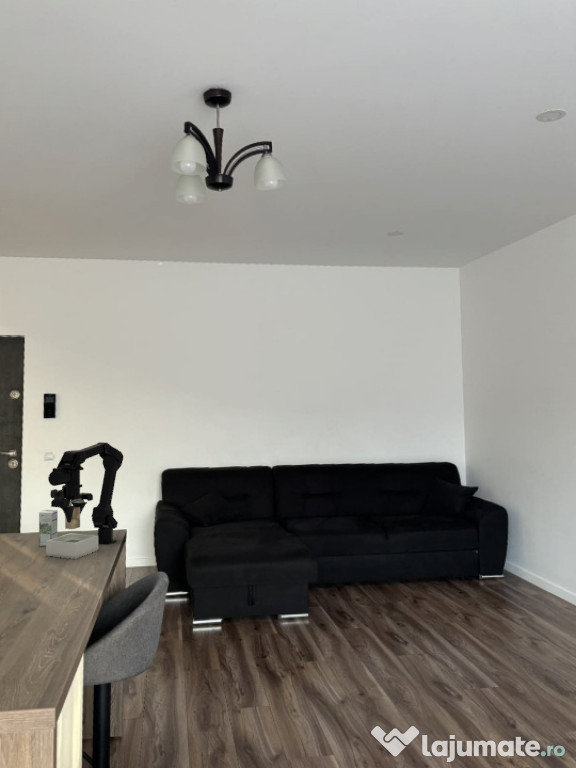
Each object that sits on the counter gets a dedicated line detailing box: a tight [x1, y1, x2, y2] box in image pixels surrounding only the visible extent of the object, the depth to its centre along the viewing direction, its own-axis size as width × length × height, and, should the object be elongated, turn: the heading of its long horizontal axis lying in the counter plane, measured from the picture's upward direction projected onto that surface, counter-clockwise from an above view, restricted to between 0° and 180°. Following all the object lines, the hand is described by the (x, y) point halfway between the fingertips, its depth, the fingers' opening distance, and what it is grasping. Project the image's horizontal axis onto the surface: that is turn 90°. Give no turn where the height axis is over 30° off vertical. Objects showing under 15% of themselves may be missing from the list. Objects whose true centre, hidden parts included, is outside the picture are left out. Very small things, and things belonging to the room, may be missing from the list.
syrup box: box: [38, 509, 59, 547], centre depth 266 cm, size 6×6×14 cm
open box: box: [45, 532, 99, 560], centre depth 252 cm, size 14×14×6 cm
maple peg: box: [64, 507, 81, 530], centre depth 252 cm, size 4×4×8 cm
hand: (72, 521), depth 252 cm, fingers closed on maple peg, 4 cm apart
